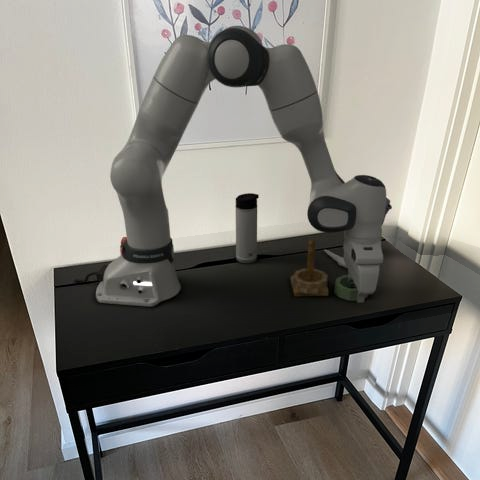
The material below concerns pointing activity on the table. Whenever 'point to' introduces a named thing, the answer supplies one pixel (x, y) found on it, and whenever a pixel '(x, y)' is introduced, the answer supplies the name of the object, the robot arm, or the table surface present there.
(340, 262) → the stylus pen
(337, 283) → the sage ring
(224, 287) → the table surface
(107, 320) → the table surface
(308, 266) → the peg stand
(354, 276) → the robot arm
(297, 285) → the birch ring
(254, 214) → the travel mug
